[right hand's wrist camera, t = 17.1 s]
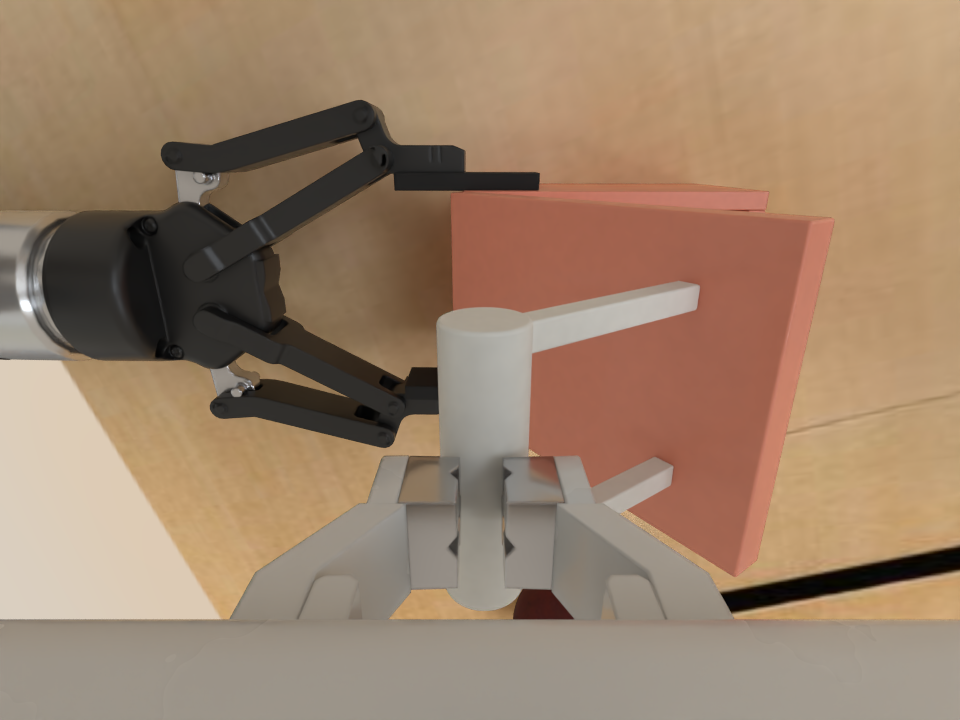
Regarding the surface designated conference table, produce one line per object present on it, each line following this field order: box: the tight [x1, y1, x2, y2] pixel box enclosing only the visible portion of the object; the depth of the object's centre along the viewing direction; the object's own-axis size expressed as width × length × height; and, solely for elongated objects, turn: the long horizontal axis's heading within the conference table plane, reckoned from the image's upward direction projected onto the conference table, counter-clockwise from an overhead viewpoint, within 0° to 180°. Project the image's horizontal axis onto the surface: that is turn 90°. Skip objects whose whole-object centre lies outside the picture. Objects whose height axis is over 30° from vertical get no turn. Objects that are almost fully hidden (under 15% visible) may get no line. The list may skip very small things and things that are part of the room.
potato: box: [513, 589, 575, 620], centre depth 38 cm, size 7×8×7 cm
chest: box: [463, 184, 769, 213], centre depth 29 cm, size 13×10×9 cm
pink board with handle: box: [436, 192, 834, 611], centre depth 16 cm, size 14×10×9 cm
